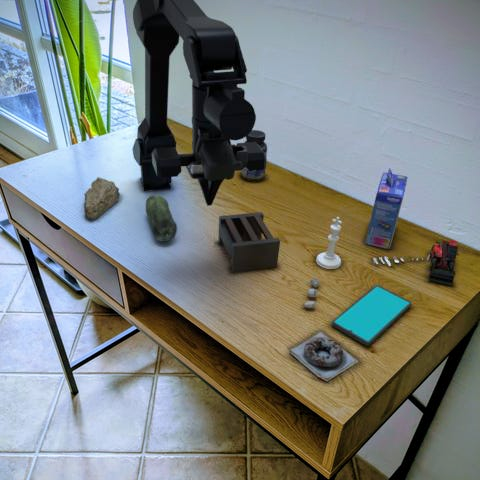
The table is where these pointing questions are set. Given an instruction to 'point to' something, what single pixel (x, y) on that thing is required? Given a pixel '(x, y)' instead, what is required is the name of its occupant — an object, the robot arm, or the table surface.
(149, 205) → the vegetable
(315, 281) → the game pieces
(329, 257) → the chess piece
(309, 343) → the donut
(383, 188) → the ink cartridge box
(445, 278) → the loader
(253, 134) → the pill bottle
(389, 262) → the miniature set
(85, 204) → the stone
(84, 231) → the table surface
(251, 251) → the rack
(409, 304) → the smartphone
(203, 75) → the robot arm
